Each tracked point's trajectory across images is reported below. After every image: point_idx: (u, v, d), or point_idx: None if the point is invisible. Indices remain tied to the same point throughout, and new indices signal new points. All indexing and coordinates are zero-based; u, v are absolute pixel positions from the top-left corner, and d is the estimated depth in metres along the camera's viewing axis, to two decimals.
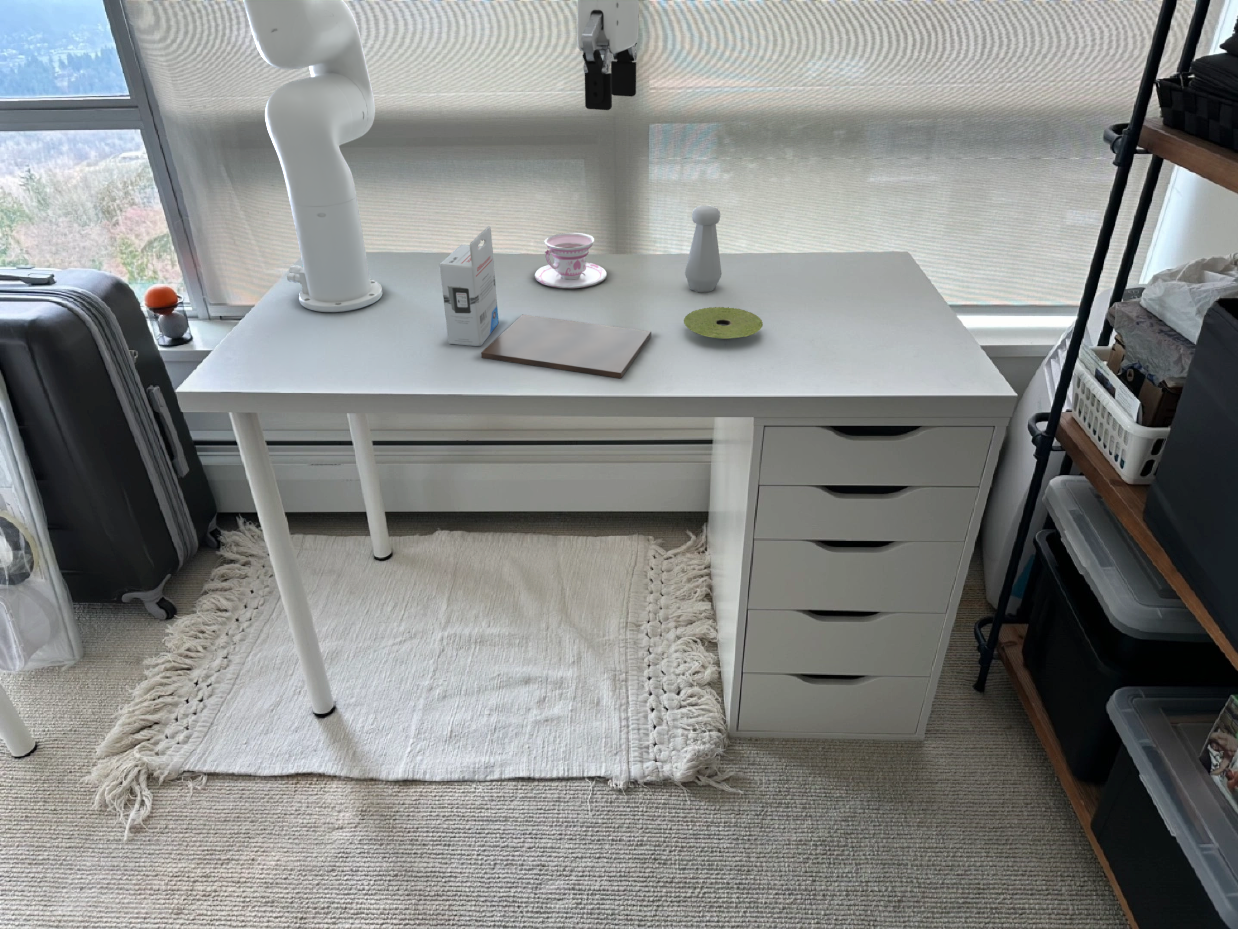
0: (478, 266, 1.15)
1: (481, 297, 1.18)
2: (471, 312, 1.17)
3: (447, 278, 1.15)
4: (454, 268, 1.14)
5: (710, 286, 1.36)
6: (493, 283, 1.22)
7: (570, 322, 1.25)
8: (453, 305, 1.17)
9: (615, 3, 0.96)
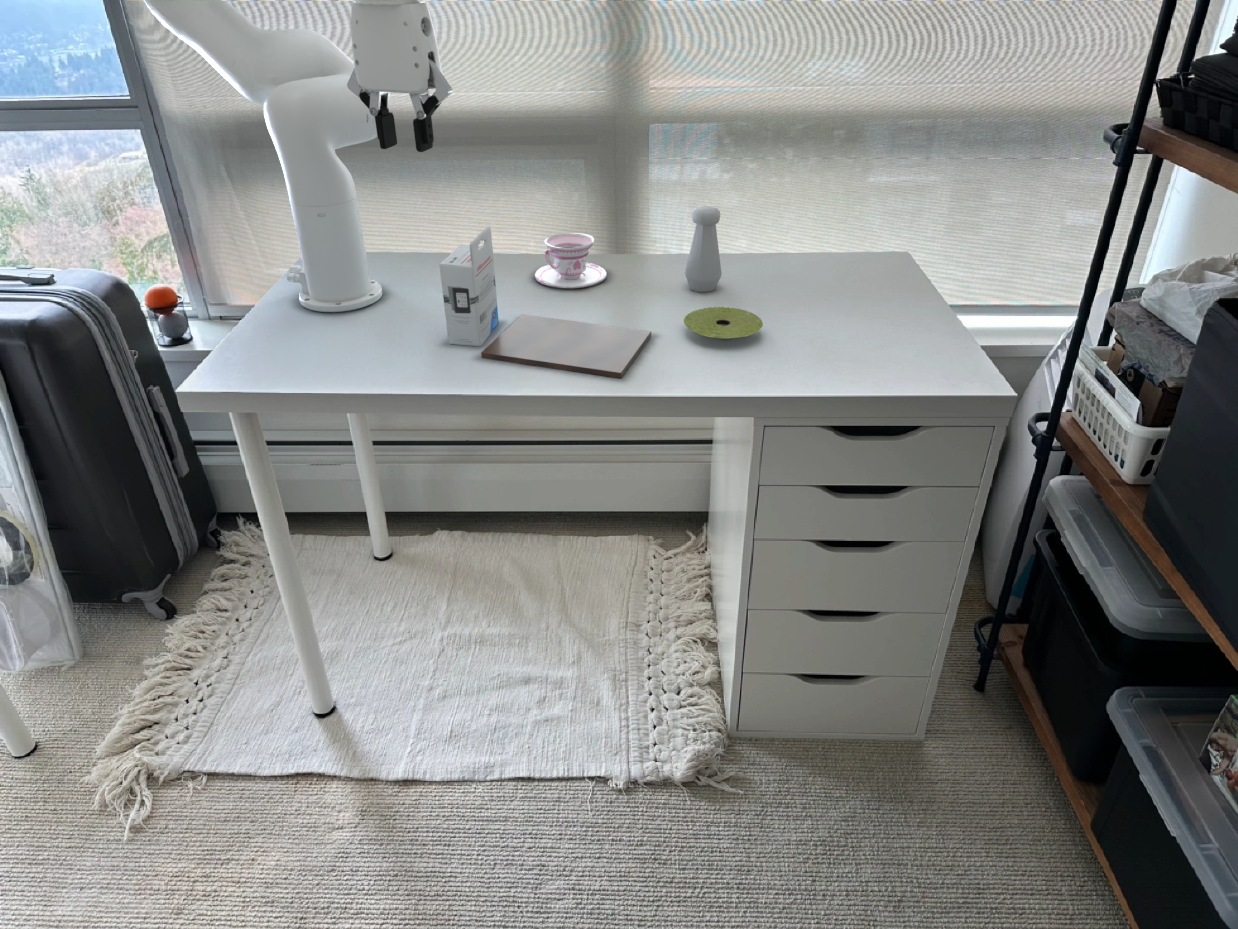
0: (478, 266, 1.15)
1: (481, 297, 1.18)
2: (471, 312, 1.17)
3: (447, 278, 1.15)
4: (454, 268, 1.14)
5: (710, 286, 1.36)
6: (493, 283, 1.22)
7: (570, 322, 1.25)
8: (452, 305, 1.17)
9: (353, 44, 1.05)
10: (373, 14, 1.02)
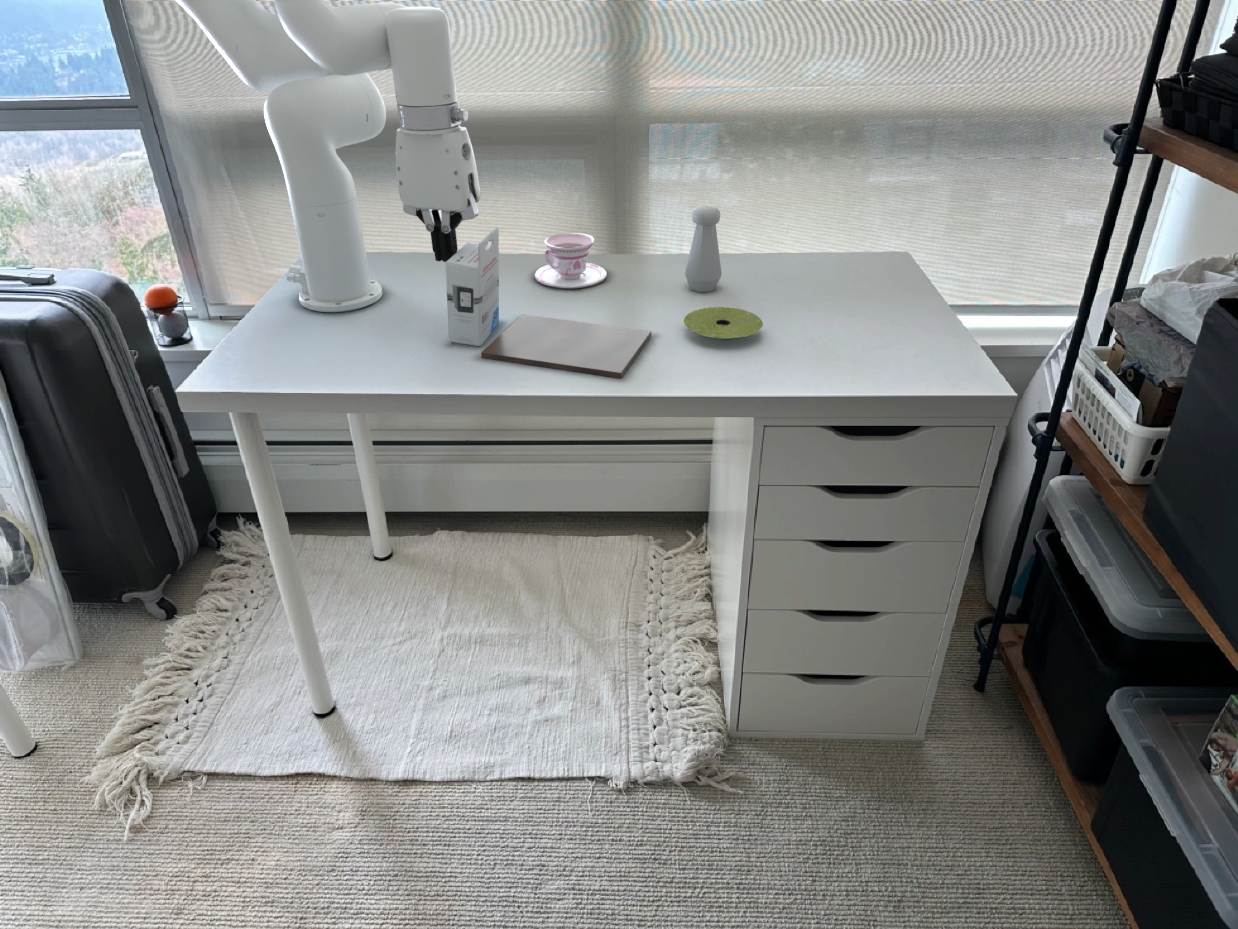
0: (484, 267, 1.15)
1: (484, 297, 1.17)
2: (474, 312, 1.17)
3: (452, 277, 1.15)
4: (460, 267, 1.14)
5: (710, 286, 1.36)
6: (497, 283, 1.22)
7: (570, 322, 1.25)
8: (456, 303, 1.17)
9: (397, 167, 1.11)
10: (416, 141, 1.08)
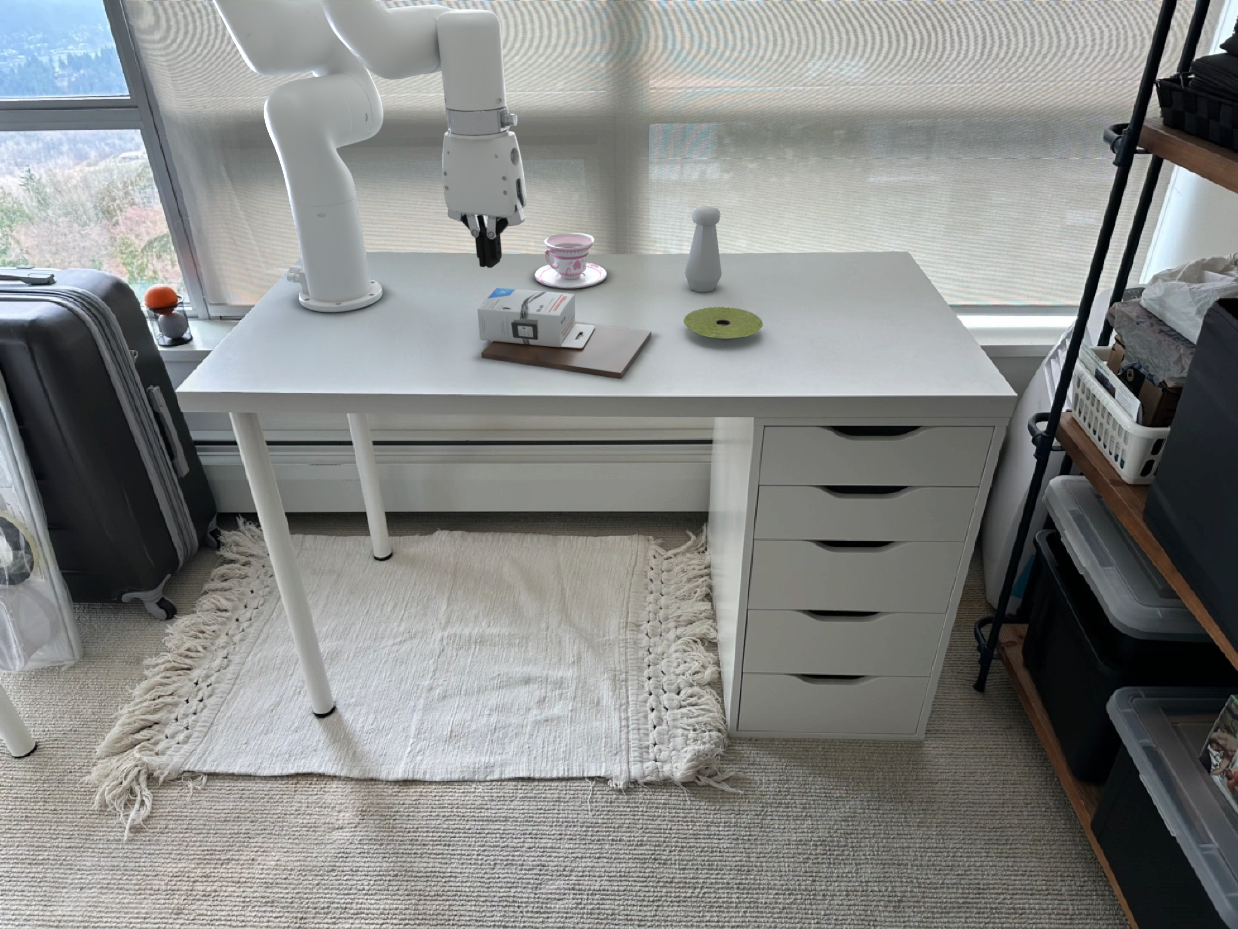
0: None
1: None
2: (514, 338, 1.18)
3: (545, 320, 1.15)
4: (556, 330, 1.16)
5: (710, 286, 1.36)
6: None
7: None
8: (518, 321, 1.16)
9: (444, 171, 1.10)
10: (465, 146, 1.06)
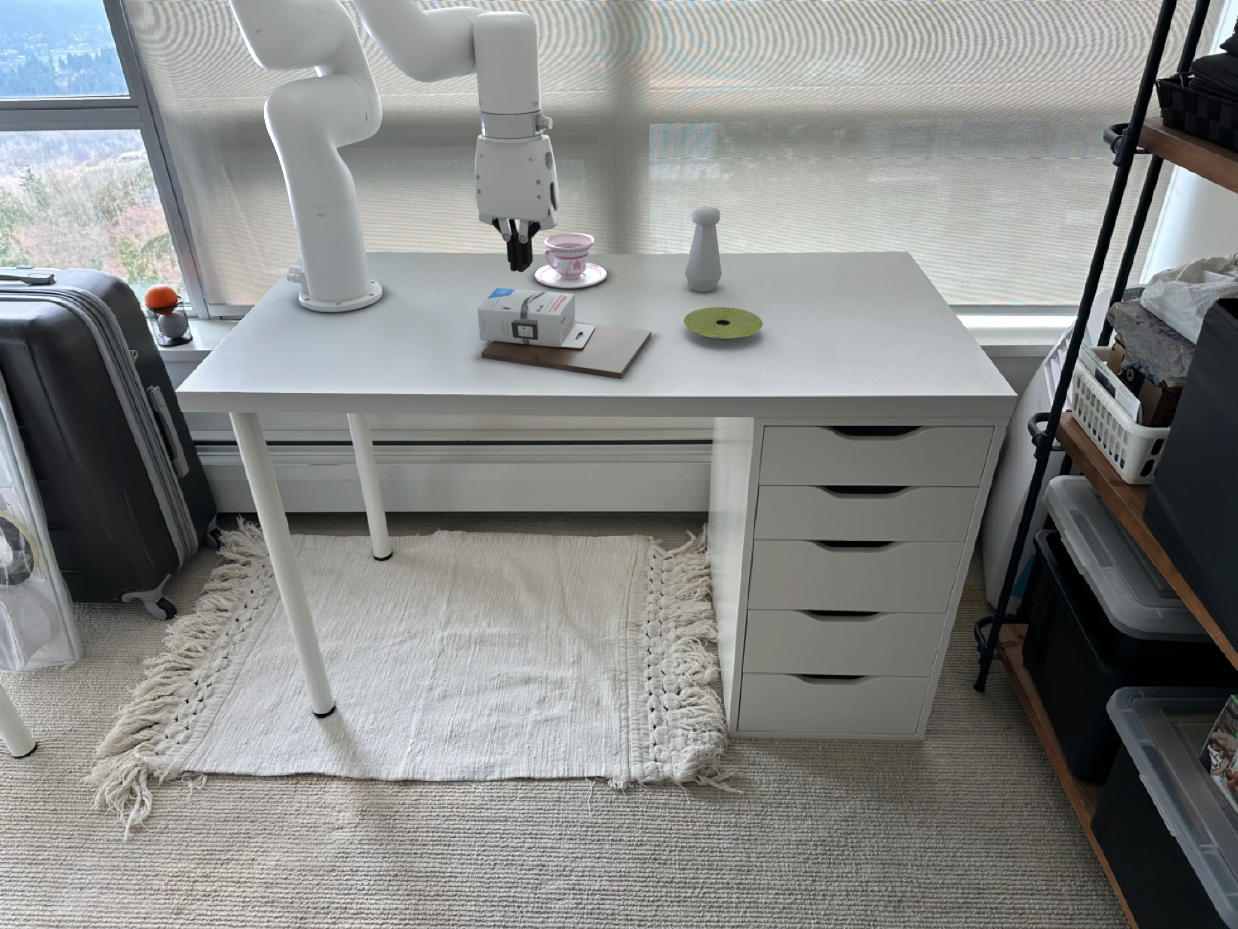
0: None
1: None
2: (514, 338, 1.18)
3: (545, 320, 1.15)
4: (556, 330, 1.16)
5: (710, 286, 1.36)
6: None
7: None
8: (518, 321, 1.16)
9: (476, 175, 1.08)
10: (499, 150, 1.05)
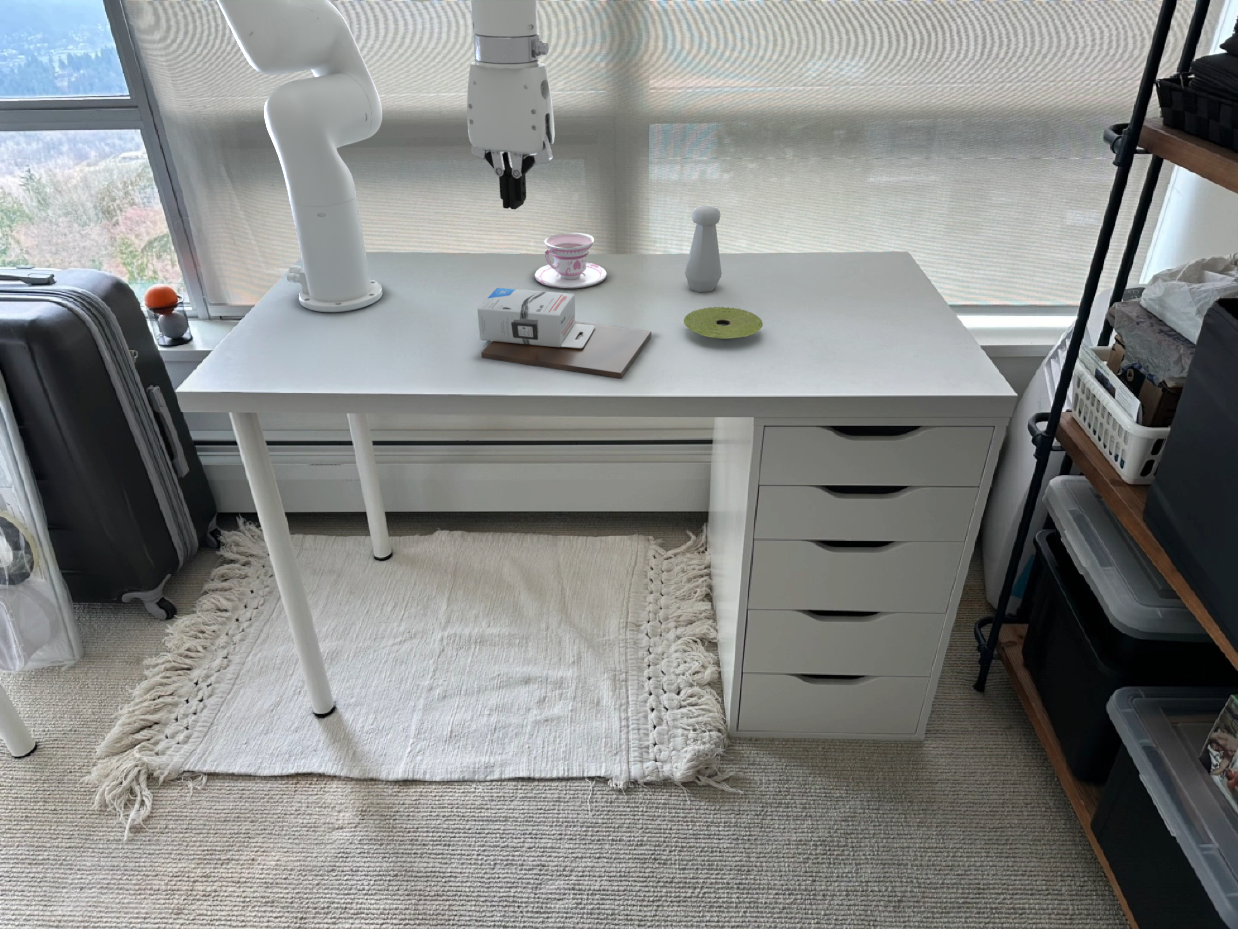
0: None
1: None
2: (514, 338, 1.18)
3: (545, 320, 1.15)
4: (556, 330, 1.16)
5: (710, 286, 1.36)
6: None
7: None
8: (518, 321, 1.16)
9: (469, 104, 1.04)
10: (492, 76, 1.01)
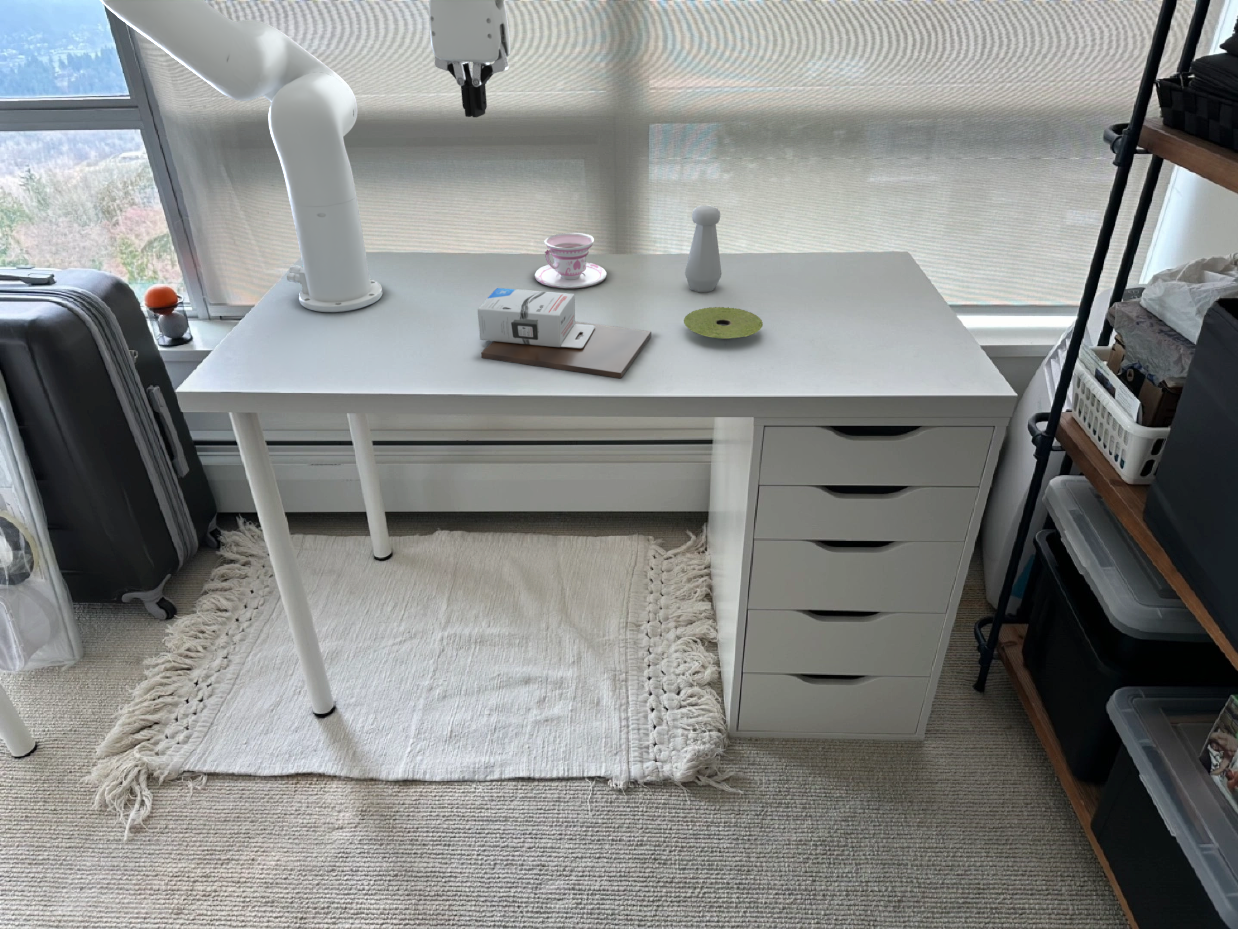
0: None
1: None
2: (514, 338, 1.18)
3: (545, 320, 1.15)
4: (556, 330, 1.16)
5: (710, 286, 1.36)
6: None
7: None
8: (518, 321, 1.16)
9: (431, 16, 1.14)
10: None
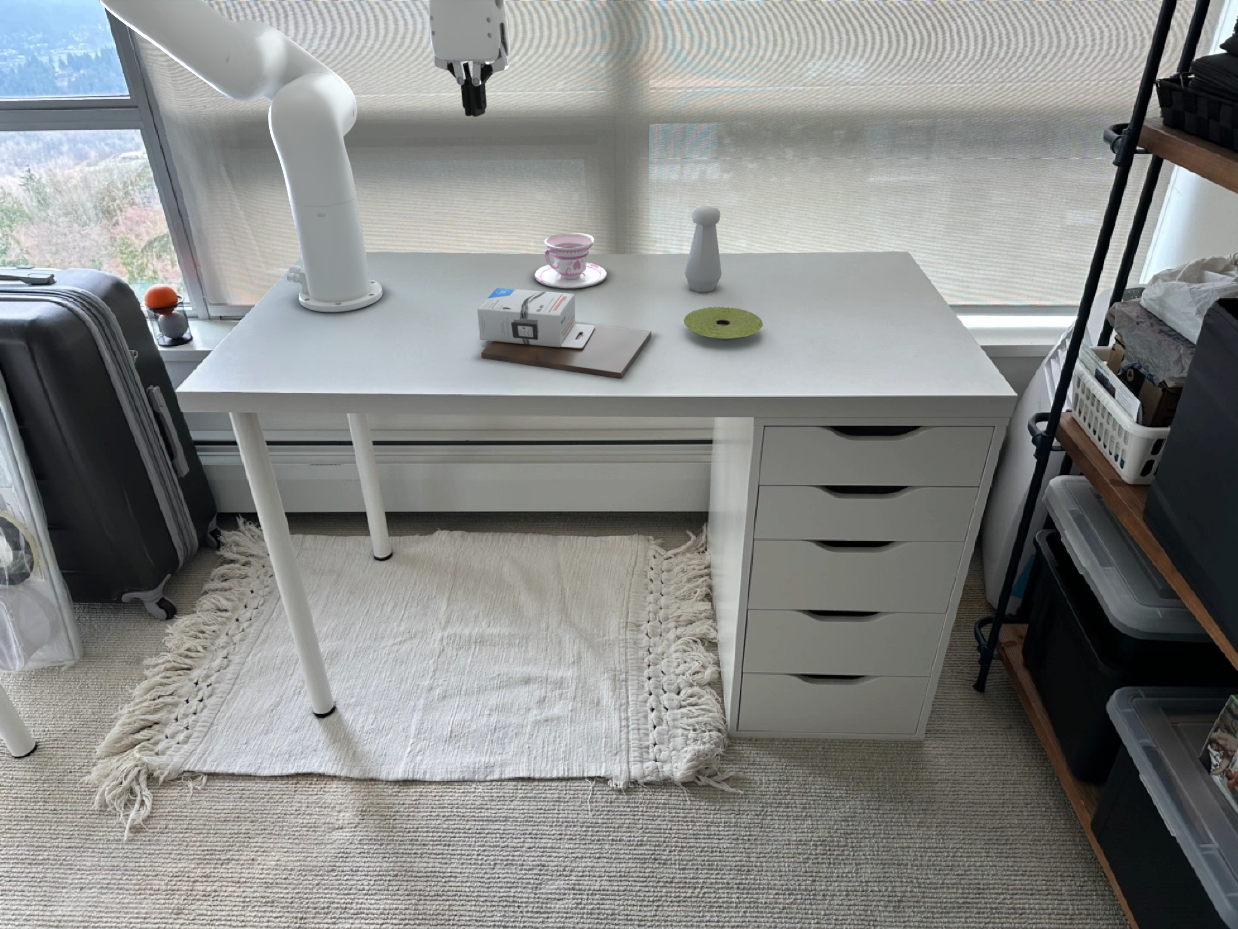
0: None
1: None
2: (514, 338, 1.18)
3: (545, 320, 1.15)
4: (556, 330, 1.16)
5: (710, 286, 1.36)
6: None
7: None
8: (518, 321, 1.16)
9: (430, 16, 1.14)
10: None
